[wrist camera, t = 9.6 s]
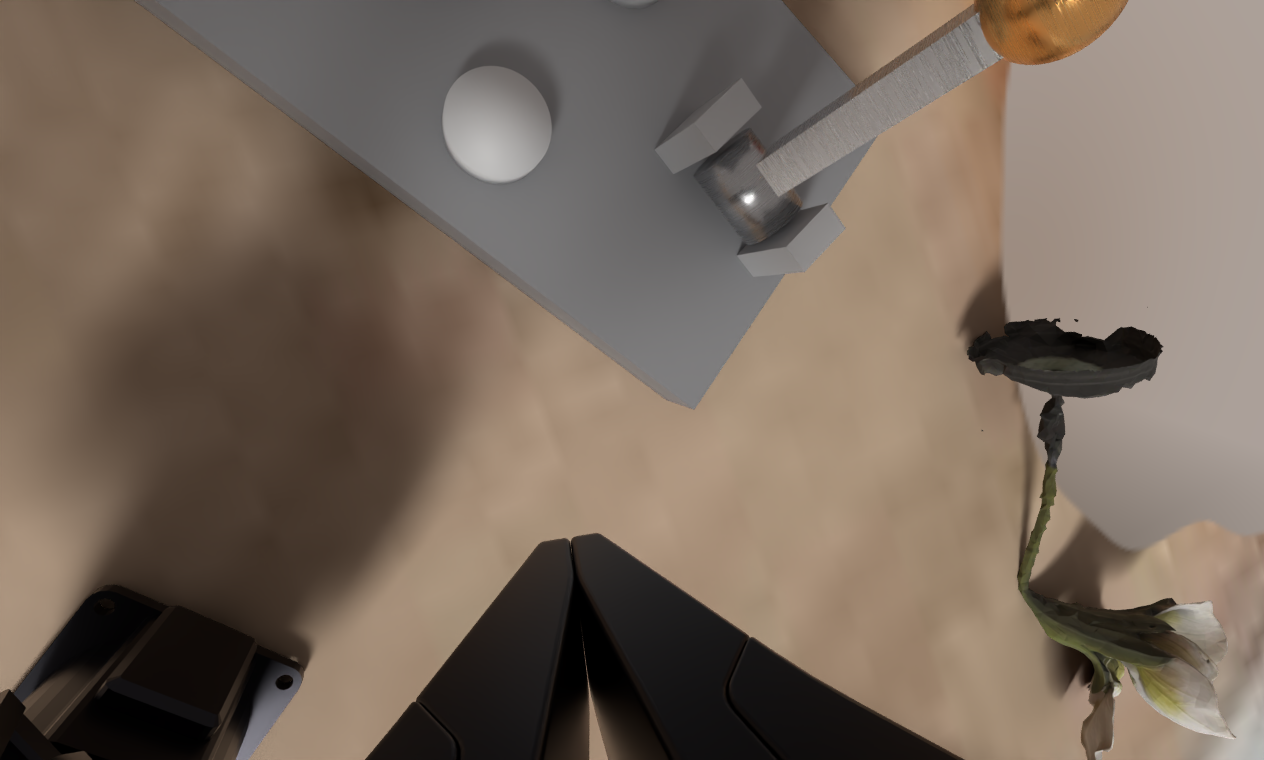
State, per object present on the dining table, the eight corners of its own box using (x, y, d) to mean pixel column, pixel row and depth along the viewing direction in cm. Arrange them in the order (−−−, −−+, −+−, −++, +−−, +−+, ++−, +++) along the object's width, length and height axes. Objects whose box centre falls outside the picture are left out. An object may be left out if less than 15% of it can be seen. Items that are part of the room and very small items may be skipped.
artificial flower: (1031, 295, 31) (1318, 301, 24) (1028, 645, 38) (1251, 740, 30) (945, 347, 27) (1269, 376, 19) (959, 736, 33) (1203, 877, 26)
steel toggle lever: (736, 263, 20) (1176, 17, 12) (678, 189, 19) (1115, -129, 11) (759, 219, 22) (1150, -17, 14) (708, 150, 21) (1096, -144, 13)
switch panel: (666, 399, 24) (737, 424, 18) (96, -29, 16) (-48, -183, 11) (842, 139, 25) (954, 94, 20) (387, -358, 18) (376, -628, 13)
